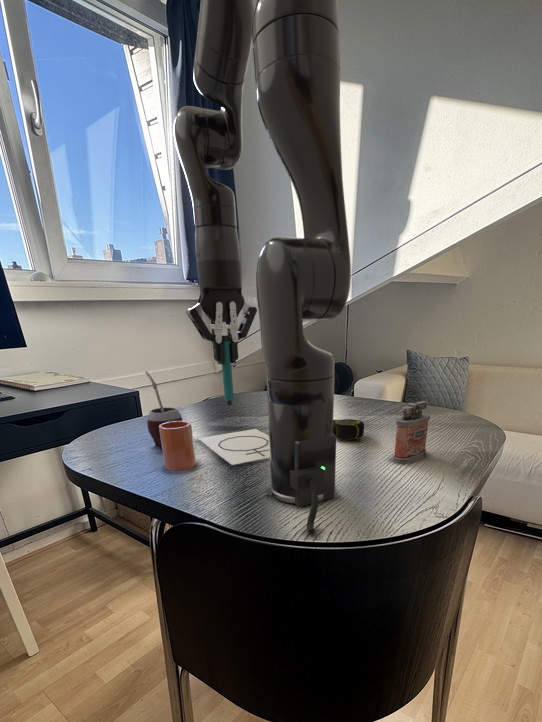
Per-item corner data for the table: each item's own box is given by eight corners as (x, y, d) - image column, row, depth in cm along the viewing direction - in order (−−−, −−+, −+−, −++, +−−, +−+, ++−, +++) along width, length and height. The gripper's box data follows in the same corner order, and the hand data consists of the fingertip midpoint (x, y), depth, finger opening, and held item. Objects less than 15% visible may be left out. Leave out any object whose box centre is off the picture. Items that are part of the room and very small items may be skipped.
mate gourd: (178, 454, 82) (167, 376, 75) (141, 453, 83) (128, 376, 77) (191, 443, 88) (182, 371, 82) (157, 442, 90) (146, 371, 83)
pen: (236, 405, 82) (230, 335, 76) (227, 406, 81) (221, 335, 75) (232, 403, 83) (227, 334, 78) (223, 404, 82) (217, 335, 77)
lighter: (404, 464, 72) (409, 408, 68) (388, 460, 75) (392, 405, 70) (429, 454, 77) (436, 400, 73) (414, 450, 79) (419, 398, 75)
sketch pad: (299, 453, 80) (299, 450, 79) (232, 467, 74) (231, 464, 73) (255, 430, 96) (255, 428, 95) (198, 440, 90) (197, 437, 90)
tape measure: (361, 433, 91) (362, 417, 89) (365, 442, 85) (366, 425, 83) (330, 434, 91) (330, 417, 90) (332, 443, 85) (332, 425, 83)
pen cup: (199, 469, 73) (194, 425, 70) (170, 475, 71) (163, 430, 68) (191, 460, 78) (185, 419, 74) (162, 466, 76) (155, 423, 72)
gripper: (186, 256, 65) (198, 368, 73) (263, 258, 71) (267, 362, 79) (173, 261, 72) (186, 364, 79) (245, 262, 77) (251, 358, 85)
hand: (226, 363), depth 79 cm, fingers closed on pen, 2 cm apart
